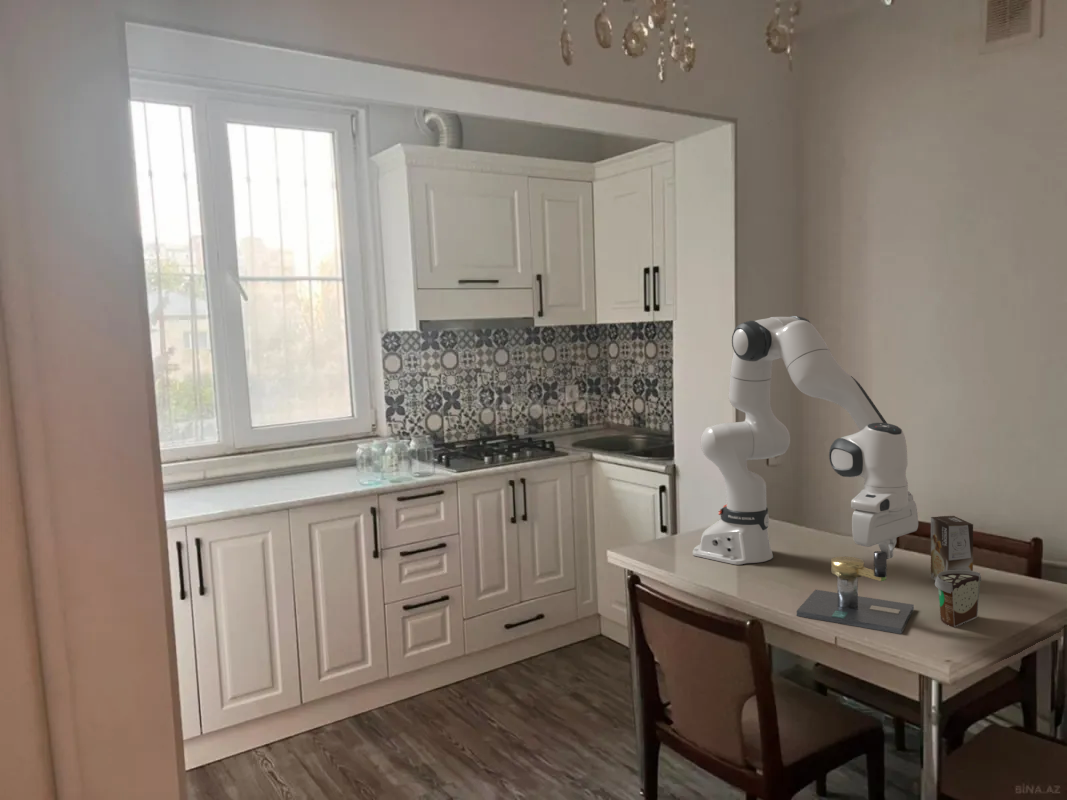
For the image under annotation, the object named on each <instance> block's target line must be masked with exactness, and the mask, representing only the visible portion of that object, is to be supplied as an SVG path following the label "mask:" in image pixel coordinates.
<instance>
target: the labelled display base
mask: <svg viewBox="0 0 1067 800" xmlns="http://www.w3.org/2000/svg"><path fill="white" fill-rule="evenodd" d="M836 577H837V579H836V580H837V584H836V585H837V589H836V590H837V592H833V591H826V590H820V589H814V591H812V593H811V594H809V596H808V597H807V599H805V600H804V602H803V603H802V604H801V605H800V606H799V608H798V609H797V610H796V616H797V617H800V618H801V617H802V618H808V619H813V620H817V621H824V622H830V623H835V624H840V625H847V626H852V627H858V628H864V629H871V630H875V631H881V632H887V633H892V634H899V635H902V634H903V632H904V630H905V628H906V626H907V624H908V623H909V620H910V618H911V616H912V614H913V612H914V609H915V607H914V606H915V605H914V604H912V603H905V602H898V601H892V600H885V599H879V598H873V597H868V596H860V595H859V577H857V578H846V577H840V576H836Z"/></svg>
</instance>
